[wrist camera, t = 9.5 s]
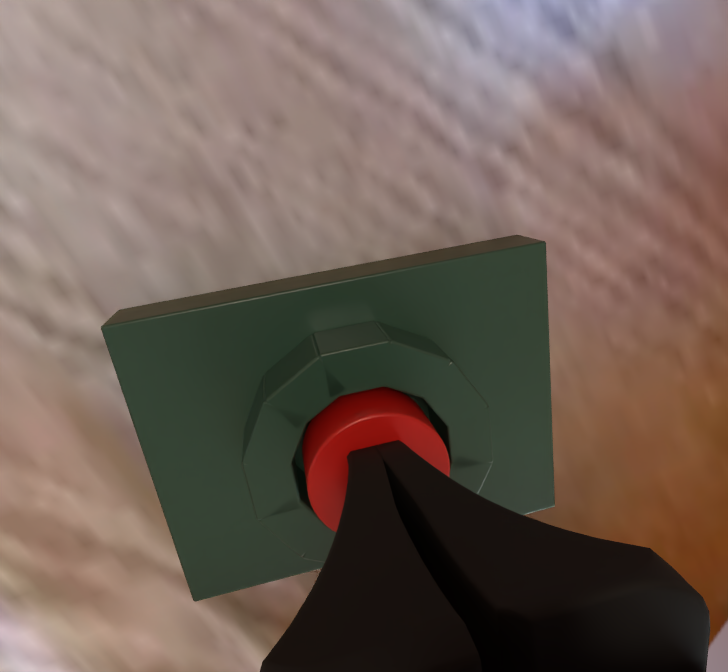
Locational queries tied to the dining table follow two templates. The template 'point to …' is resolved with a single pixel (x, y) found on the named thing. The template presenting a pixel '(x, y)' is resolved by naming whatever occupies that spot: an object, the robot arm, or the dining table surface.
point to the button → (362, 442)
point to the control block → (333, 393)
